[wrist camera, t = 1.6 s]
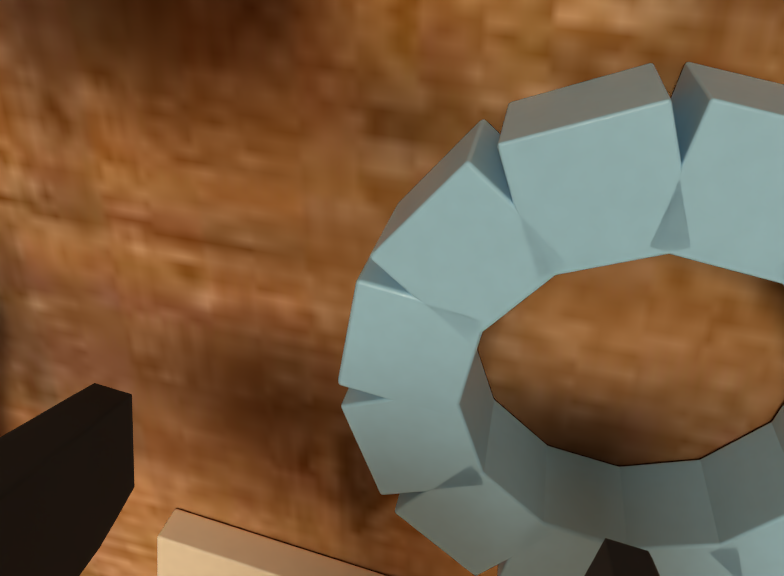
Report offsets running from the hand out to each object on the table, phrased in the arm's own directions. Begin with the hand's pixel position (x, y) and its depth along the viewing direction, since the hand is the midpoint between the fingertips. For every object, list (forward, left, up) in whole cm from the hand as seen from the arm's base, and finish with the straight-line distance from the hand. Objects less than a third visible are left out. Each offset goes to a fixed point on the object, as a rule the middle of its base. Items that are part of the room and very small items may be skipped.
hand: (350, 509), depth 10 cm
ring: (-5, 0, -7) cm, 8 cm away
